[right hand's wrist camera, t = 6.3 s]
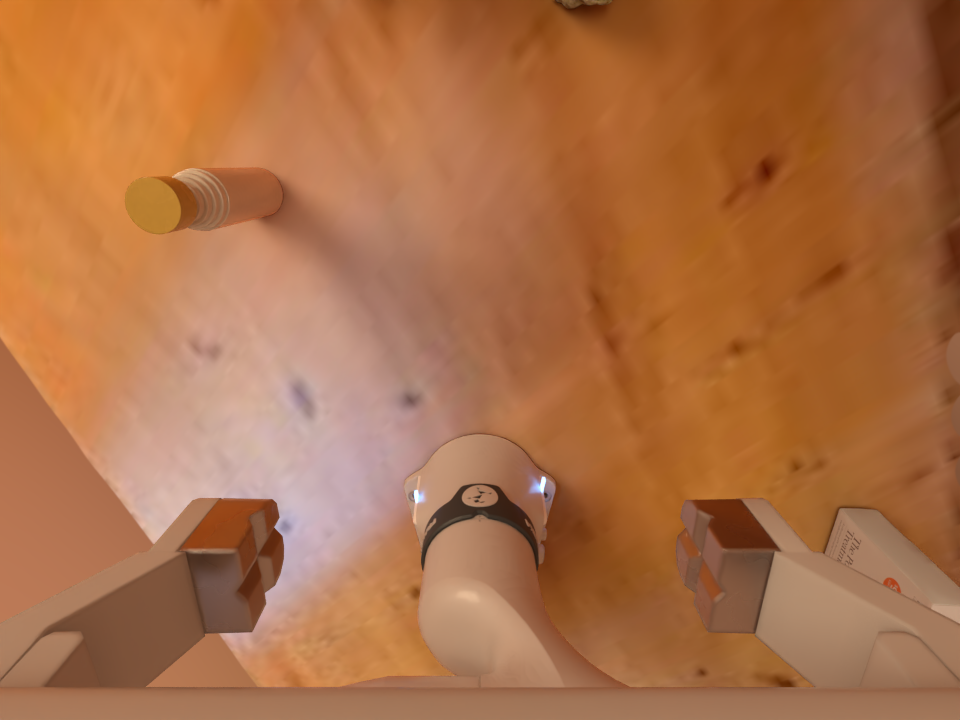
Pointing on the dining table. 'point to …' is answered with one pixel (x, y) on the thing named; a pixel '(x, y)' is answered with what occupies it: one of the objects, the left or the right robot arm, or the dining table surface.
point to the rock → (582, 2)
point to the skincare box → (891, 560)
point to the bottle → (231, 195)
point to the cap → (160, 204)
